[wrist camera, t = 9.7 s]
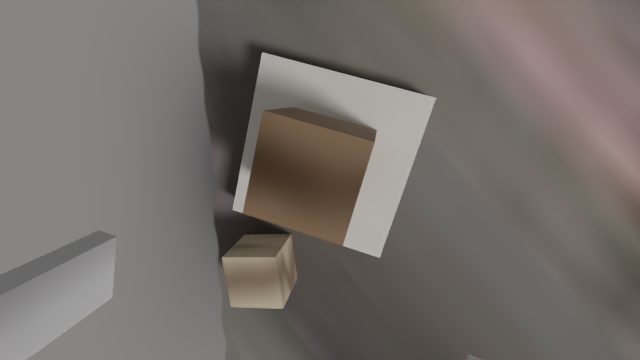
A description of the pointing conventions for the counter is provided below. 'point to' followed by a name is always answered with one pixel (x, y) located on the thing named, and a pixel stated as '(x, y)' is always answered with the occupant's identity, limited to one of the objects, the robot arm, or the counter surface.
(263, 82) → the tile
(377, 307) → the counter surface
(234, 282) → the maple block
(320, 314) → the counter surface
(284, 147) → the walnut cube
